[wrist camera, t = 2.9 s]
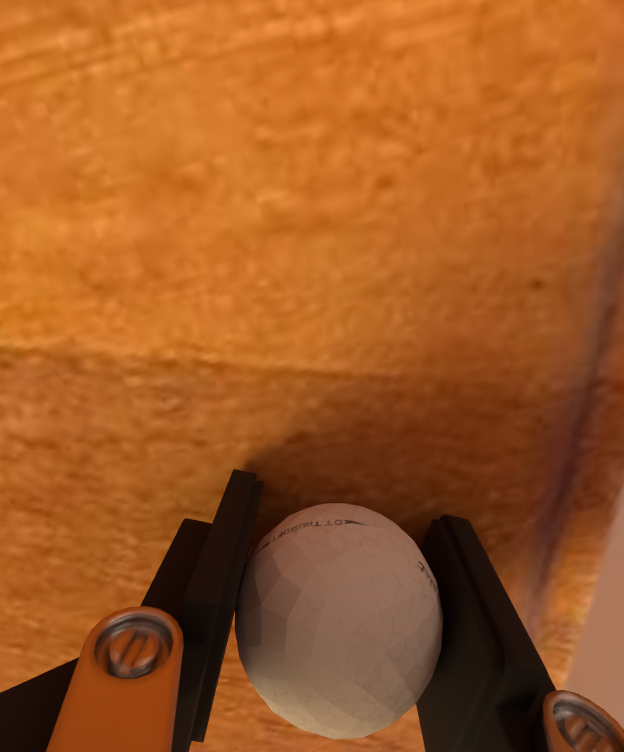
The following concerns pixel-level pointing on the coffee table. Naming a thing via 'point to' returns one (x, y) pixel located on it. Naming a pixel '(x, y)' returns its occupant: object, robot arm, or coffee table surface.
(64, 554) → the coffee table surface
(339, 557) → the golf ball
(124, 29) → the coffee table surface
